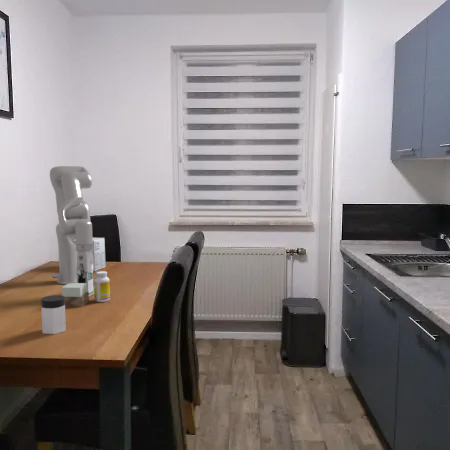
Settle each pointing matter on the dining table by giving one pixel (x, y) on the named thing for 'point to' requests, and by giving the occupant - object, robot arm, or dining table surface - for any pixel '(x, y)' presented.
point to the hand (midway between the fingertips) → (85, 283)
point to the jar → (53, 314)
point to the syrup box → (88, 281)
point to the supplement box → (98, 253)
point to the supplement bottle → (102, 287)
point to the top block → (74, 289)
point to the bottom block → (77, 300)
